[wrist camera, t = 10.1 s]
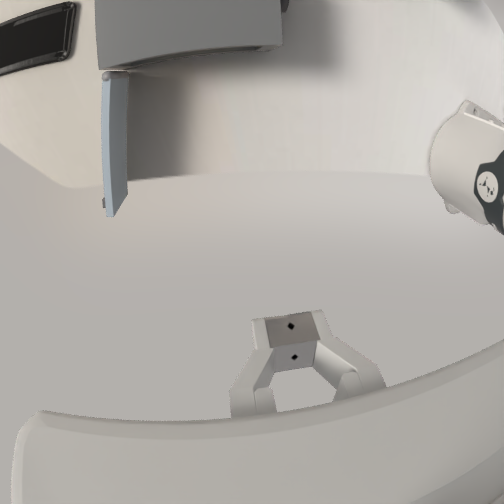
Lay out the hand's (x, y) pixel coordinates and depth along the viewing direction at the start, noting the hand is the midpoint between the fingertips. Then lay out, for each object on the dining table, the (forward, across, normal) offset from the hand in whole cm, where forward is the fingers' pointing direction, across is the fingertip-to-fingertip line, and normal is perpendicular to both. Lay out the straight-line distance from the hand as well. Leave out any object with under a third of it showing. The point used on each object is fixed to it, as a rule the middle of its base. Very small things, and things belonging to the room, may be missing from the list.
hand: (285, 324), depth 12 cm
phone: (+25, -25, +21) cm, 41 cm away
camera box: (+25, -4, +17) cm, 31 cm away
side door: (+24, -13, +5) cm, 28 cm away
